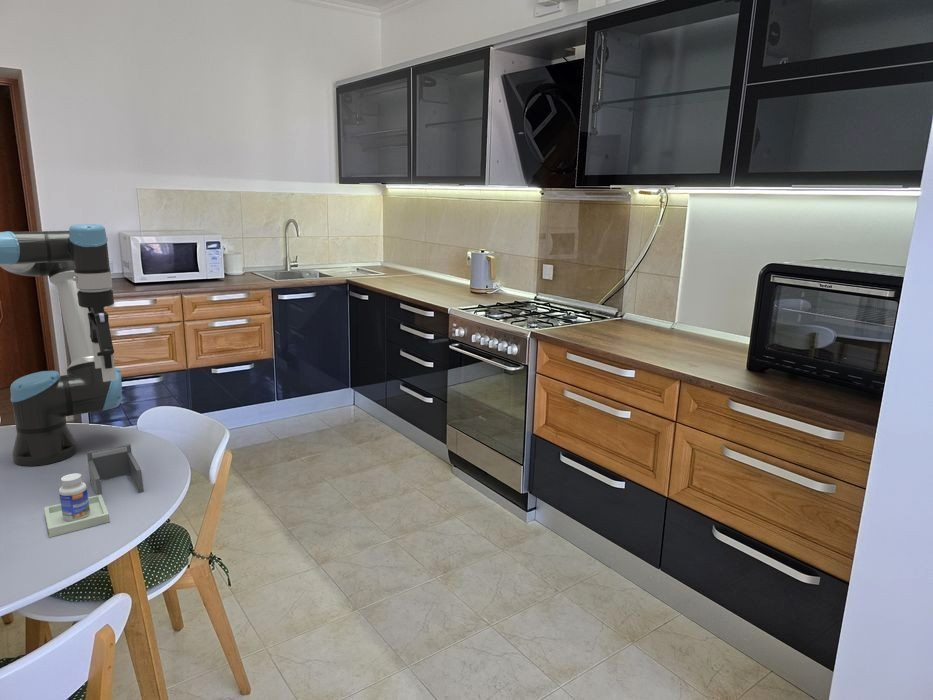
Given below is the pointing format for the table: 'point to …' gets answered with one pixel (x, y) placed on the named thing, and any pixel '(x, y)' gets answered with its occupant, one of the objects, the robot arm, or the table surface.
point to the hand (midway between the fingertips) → (105, 374)
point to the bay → (113, 466)
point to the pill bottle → (74, 497)
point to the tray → (62, 526)
